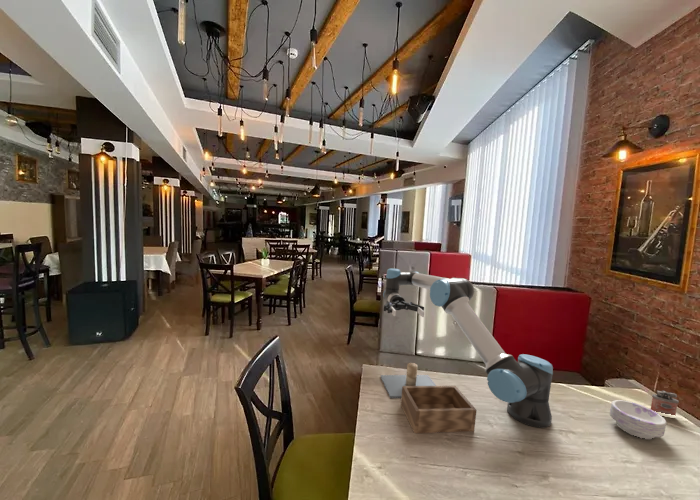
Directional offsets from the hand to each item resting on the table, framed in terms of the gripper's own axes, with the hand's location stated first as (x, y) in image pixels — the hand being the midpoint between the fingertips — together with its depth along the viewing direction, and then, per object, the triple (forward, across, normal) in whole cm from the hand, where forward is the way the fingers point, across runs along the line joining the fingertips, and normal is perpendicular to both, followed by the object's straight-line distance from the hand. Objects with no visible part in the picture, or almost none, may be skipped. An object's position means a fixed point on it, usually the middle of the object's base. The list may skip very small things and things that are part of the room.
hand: (409, 313), depth 144 cm
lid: (+10, 0, -30) cm, 32 cm away
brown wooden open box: (+31, -2, -30) cm, 43 cm away
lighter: (+33, -100, -30) cm, 110 cm away
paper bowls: (+41, -76, -30) cm, 92 cm away
